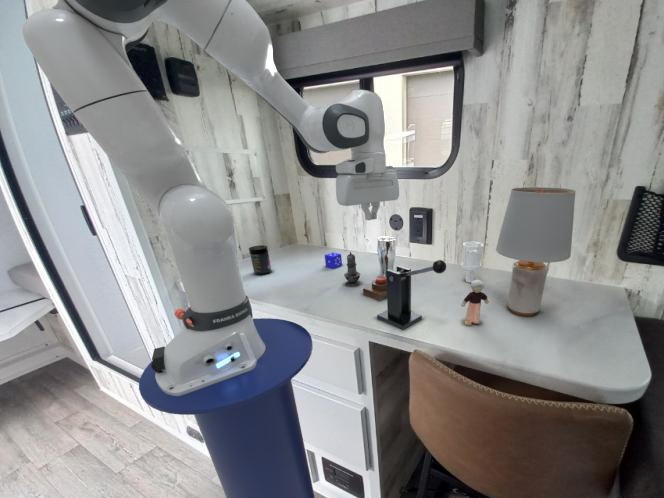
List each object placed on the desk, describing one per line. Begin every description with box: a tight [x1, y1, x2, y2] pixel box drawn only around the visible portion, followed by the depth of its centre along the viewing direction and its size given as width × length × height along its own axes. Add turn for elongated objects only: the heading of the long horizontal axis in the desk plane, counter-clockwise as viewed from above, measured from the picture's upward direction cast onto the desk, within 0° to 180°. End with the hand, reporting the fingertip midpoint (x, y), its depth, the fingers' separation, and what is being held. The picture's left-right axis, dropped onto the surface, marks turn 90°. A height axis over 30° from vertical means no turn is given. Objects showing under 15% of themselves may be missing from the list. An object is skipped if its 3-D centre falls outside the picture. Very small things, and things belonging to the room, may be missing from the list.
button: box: [375, 275, 387, 284], centre depth 103 cm, size 4×4×2 cm
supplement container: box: [248, 244, 273, 276], centre depth 122 cm, size 7×7×10 cm
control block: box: [362, 278, 387, 301], centre depth 104 cm, size 10×8×4 cm
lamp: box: [495, 186, 577, 317], centre depth 84 cm, size 19×19×34 cm
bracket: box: [376, 265, 423, 331], centre depth 84 cm, size 10×8×15 cm
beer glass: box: [376, 236, 397, 277], centre depth 115 cm, size 7×7×15 cm
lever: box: [396, 259, 447, 280], centre depth 77 cm, size 17×3×3 cm, turn 48°
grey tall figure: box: [343, 251, 361, 287], centre depth 110 cm, size 6×6×12 cm
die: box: [324, 252, 343, 269], centre depth 130 cm, size 5×5×5 cm
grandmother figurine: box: [460, 279, 489, 326], centre depth 82 cm, size 8×4×13 cm, turn 114°
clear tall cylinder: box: [460, 241, 484, 283], centre depth 110 cm, size 7×7×15 cm
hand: (371, 219), depth 86 cm, fingers closed
